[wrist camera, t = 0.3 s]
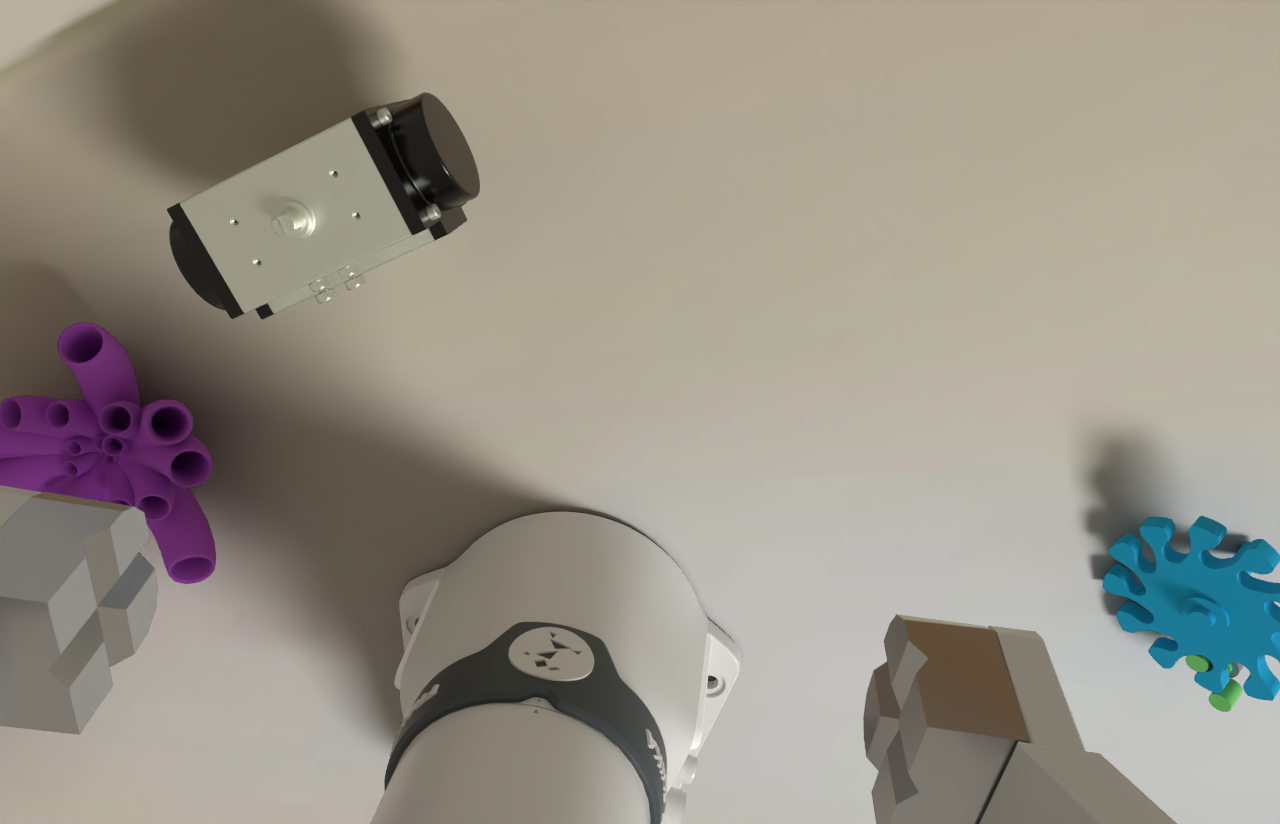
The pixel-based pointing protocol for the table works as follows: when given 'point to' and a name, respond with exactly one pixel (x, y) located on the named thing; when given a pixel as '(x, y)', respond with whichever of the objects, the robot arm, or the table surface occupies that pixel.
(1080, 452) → the table surface
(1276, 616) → the gear
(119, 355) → the purple branching piece
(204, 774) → the table surface
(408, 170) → the pneumatic valve
